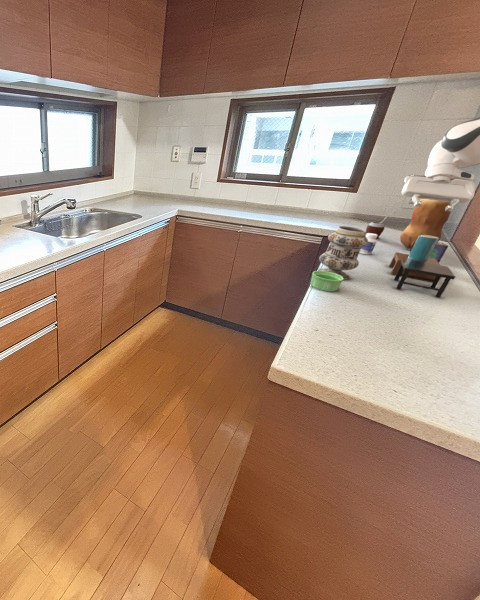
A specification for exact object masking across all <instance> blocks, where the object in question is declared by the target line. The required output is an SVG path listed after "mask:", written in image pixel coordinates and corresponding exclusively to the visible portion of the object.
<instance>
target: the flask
mask: <svg viewBox="0 0 480 600" xmlns="http://www.w3.org/2000/svg"><path fill="white" fill-rule="evenodd" d="M448 248H449V245H448V244H446V243H443V242H440V241H438V242H437V243H436V245H435V247H434V248H433V250H432V252H431V254H430V256H429V258H433V259H436V260H437V261H438V263H439V264H440V262H441V260H442V258H443V256H444V255H445V253H446V251H447V249H448Z"/></svg>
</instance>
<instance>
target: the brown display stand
mask: <svg viewBox="0 0 480 600" xmlns="http://www.w3.org/2000/svg"><path fill="white" fill-rule="evenodd" d="M408 256H409V254H407V253H402V252H395V253H394V254H393V257H392V258H391V261H390V263H389V265H388V267H389V268H391V272H390V275H391V276H392V275H393V276H396V274H397V272H398V270H399V268H400V266H401V264H402V263H401V260H402V259H406V260H411V259H409V258H408ZM412 261H415V260H412ZM418 262H421V261H418ZM424 263H430V264H436V265H441V264H440V262H439V263H438V261H437V260H436V259H433V258H428V260H427V261H426V262H424ZM404 272H405V271H404V270H403V272H402V274H404ZM408 275H411V276H417V277H422V278H427V279H433V280H435V278H436V276H432V275H426V274H421V273H415V272H409V274H408ZM407 278H408V279H412V280H413V279H414V280H417V281H424V282H429V283H433V282H432V281H427V280H422V279H416V278H411V277H407Z"/></svg>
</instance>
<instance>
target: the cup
mask: <svg viewBox="0 0 480 600" xmlns="http://www.w3.org/2000/svg"><path fill="white" fill-rule="evenodd" d="M438 239H439V238H438V237H435V236H430V235H419V236H418V238H417V240H416V242H415V244H414V246H413V248H412V250H410V252H409V254H408V255H409V256H408V258H409V259H411V260H415V261H421V262H426V261H427V260H428V258H429V256H430V254H431V252H432V250H433V248H434V247H435V245H436V243H437V241H438ZM438 242H439V241H438Z"/></svg>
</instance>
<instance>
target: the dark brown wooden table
mask: <svg viewBox="0 0 480 600" xmlns="http://www.w3.org/2000/svg"><path fill="white" fill-rule="evenodd" d="M401 263H402V264H401V266H400V268H399V270H398V272H397V274H396V275H394V276H395V277H394V279H393V281H394V282H395V281H396V282H398V281H399V282H398V283H397V286H396V287H395V289H396V290H398V291H399V290H401V289H402V288H403V286H404V285H407V286H412V287H416V288H423V289H428V290H432V291H436V292H437V293H436V294H435V298H438V299H441V297H442V295H443V294H444V292H445V290H446V288H447V287H448V285H449V283H450V281H451V280H454V279H455V278H456V275H455V274H454V273H453V272H452V270H451V269H450V267H449V266H447V265H441V264H440V265H436V264H430V263H424V262H418V261H412V260H406V259H402V260H401ZM403 270H404V271H405V272H404V274H402V272H403ZM409 272H415V273H421V274H426V275H432V276H436V278H435V280H433V279H427V278H422V277H417V276H411V275H408V274H409ZM408 277H411V278H410V279H413V278H416V279H415V280H418V279H422V280H421V281H424V280H427V281H426V282H429V281H432V282H431V285H430V286H427V285H423V284H418V283H411V282H407V281H406V280H407V278H408ZM441 278H443V279H444V280H443V282H442V283H441V285H440V287H439V288H438V287H437V285H438V284H439V282H440V280H441Z"/></svg>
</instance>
